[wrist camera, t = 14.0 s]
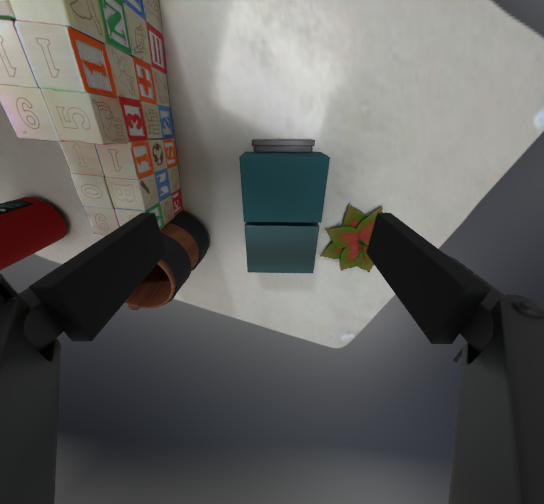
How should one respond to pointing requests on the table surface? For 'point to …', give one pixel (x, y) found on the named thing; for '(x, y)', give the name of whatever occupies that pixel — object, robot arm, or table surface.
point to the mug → (172, 262)
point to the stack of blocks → (95, 100)
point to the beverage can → (27, 229)
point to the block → (283, 186)
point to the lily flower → (352, 240)
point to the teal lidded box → (281, 228)
